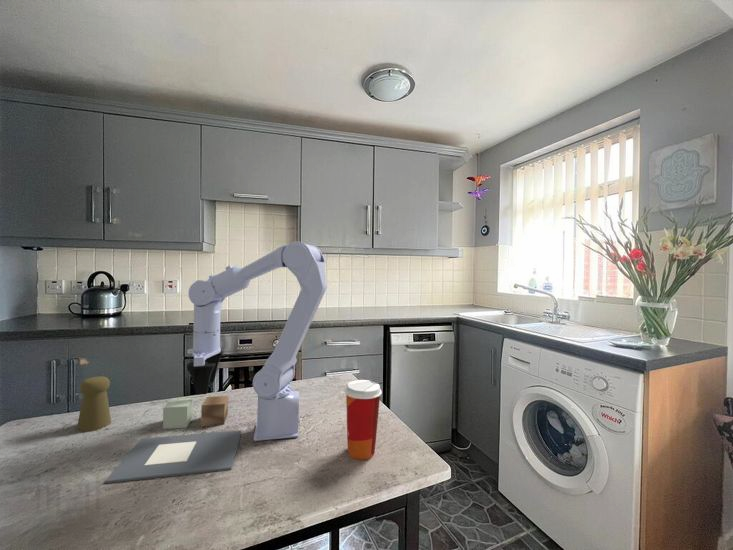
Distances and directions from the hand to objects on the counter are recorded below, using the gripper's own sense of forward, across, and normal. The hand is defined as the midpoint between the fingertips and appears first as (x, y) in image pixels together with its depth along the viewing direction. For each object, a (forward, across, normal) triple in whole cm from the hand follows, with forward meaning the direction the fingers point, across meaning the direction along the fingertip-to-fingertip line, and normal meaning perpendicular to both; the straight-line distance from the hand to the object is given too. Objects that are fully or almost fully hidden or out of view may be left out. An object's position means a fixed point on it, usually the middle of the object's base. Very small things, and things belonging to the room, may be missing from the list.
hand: (205, 387), depth 76 cm
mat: (+9, +13, -1) cm, 15 cm away
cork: (+9, -4, -24) cm, 26 cm away
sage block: (+9, -1, -6) cm, 11 cm away
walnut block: (+9, -1, +2) cm, 9 cm away
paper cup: (+9, +19, +34) cm, 40 cm away
